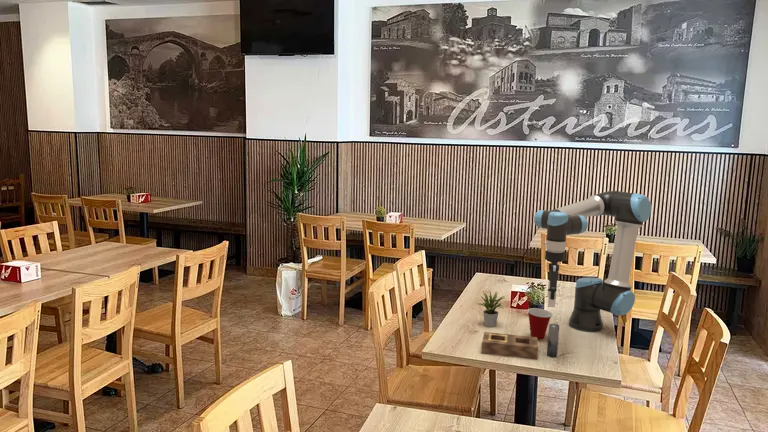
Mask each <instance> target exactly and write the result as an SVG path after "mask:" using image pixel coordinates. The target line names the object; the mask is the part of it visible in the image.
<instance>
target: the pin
mask: <svg viewBox="0 0 768 432" xmlns="http://www.w3.org/2000/svg"><path fill="white" fill-rule="evenodd" d="M559 334H560V325H559V324H557V323H549V324H548V336H547V349H546V350H547V351H546V356H547V357H549V358H553V359H554V358H557V357H558V350H559V349H558V347H559Z"/></svg>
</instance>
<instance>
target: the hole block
mask: <svg viewBox="0 0 768 432" xmlns="http://www.w3.org/2000/svg"><path fill="white" fill-rule="evenodd" d="M538 343H539V342H538V340H537V337H531V336H525V335H518V334H508V333H499V332H489V331H484V332H483V336H482V341H481V354H483V355H484V354H485V355H492V356H493V355H494V356H501V357H502V356H503V357H510V358H518V359H519V358H520V359H528V360H538V353H539V350H538V349H539V344H538Z"/></svg>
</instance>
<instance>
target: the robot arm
mask: <svg viewBox="0 0 768 432" xmlns="http://www.w3.org/2000/svg"><path fill="white" fill-rule="evenodd" d="M651 215H652V203H651V201H650V198H648V196H646V195H644V194H642V193H641V194H640V193H636V192H635V193H634V192H627V191H618V190H609V191H608V190H607V191H604V192H599V193H595V194H592V195H590V196H588V198H587V199H584V200H581V201H577V202H573V203H571V204H568V205H565V206H561V207H557V208H554V209H552V210H551V209H550V210H546V209H544V210H543V209H541V210H537V212H535V214H534V218H533V222H534V225H535V226H536V227H537V228H541V229H544V230H546V241H544V245H545V253H544V259H545V260H546V261H548V262H550V263H548V272H549V273H548V286H547V298H548V299H547V302H548V303H547V307H549V308H556V301H557V300H556V299H557V291H558V288H557V287H558V277H559V271H560V264H558V263H562V262H564V261H565V255H566V253H565V251H566V246H567V245H566V244H567V241H566V240H567V236H572V235H579V234H583V233H585V232H586V231H587V230H588V227H589V223H588V219H587V218H588V217H589V218H590V217H591V216H593V217H600V216H609V217H615V218H614V222H615V224H616V225H617V226H616V227H617V228H616V232H615V237H614V244H613V249H612V255H611V259H610V260H611V261H610V266H609V272H608V277H607V278H606V279H605V280H603V279H602V278H599V277H581V278H578V279H576V281H575V282H576V283H575V288H574V289H575V290H574V292H575V293H574V306H573V310H572V312H571V315H570V317H569V319H568V326H569V327H570V328H572V329H575V330H578V331H582V332H589V333H590V332H591V333H593V332H600V331H602V330H603V327H604V322H603V318H602V315H601V311H604V312H607V313H611V314H612V315H616V316H625V315H627V314H628V313H629V312H630V311H631V310H632V309H633V307H634V304H635V302H636V296H635V292H633V291H632V285H631V284H630V282H629V281H630V275H631V270H632V266H633V265H632V264H633V259H634V254H635V249H636V243H637V238H638V232H639V229H640V228H641V227H643V226H644V223H645V222H647V221H648V220H649V219H650V217H651Z"/></svg>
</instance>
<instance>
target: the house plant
mask: <svg viewBox="0 0 768 432" xmlns="http://www.w3.org/2000/svg"><path fill="white" fill-rule="evenodd" d="M498 294H499V292H497V291H495V292H494V295H493V296H492V293H491V291H489V295H488V294H486V292H485V291H483V295H484V297H483V296H482V295H480V297H481V299H482V300H483V301H484V302H483V303H478V304H477V305H480V306H483V307H485V310H483V311H482V314H483V315H482V316H483V323H484V326H485V327H488V328H493V327H496V326H497V321H498V315H499V311H497V310H499V309H500V308H501V309H504V306H502V302H501V300H503V299H506V298H505V295H502V296H501V297H499V298H498V299H497V297H498ZM506 297H508V295H506ZM499 302H500V303H499Z"/></svg>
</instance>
